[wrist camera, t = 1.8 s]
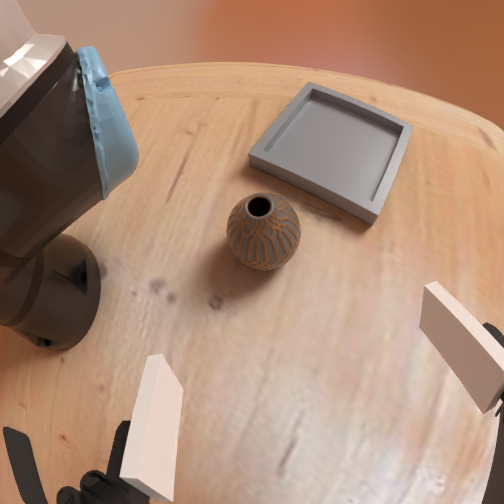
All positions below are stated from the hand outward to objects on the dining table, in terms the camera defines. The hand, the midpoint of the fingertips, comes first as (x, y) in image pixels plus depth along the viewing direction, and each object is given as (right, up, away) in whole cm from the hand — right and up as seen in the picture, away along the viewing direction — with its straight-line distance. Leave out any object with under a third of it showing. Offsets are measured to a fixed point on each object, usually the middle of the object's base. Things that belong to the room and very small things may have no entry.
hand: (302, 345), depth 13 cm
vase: (-1, +5, +18) cm, 19 cm away
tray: (+8, +18, +21) cm, 29 cm away
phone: (-37, -30, +10) cm, 48 cm away
